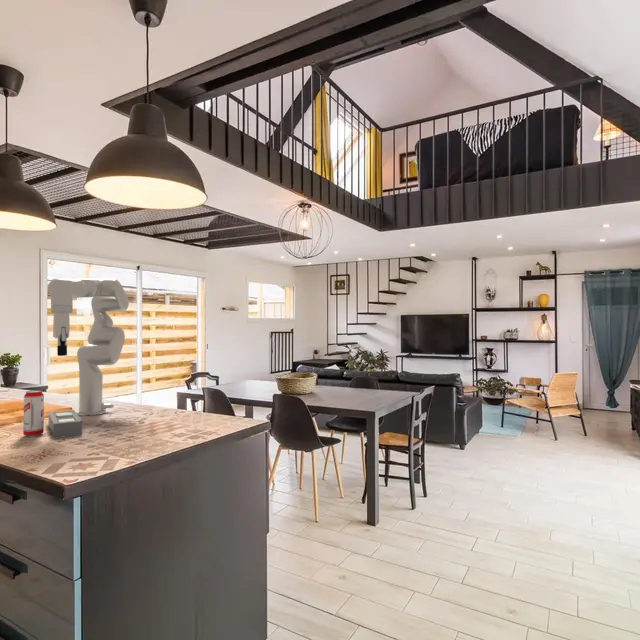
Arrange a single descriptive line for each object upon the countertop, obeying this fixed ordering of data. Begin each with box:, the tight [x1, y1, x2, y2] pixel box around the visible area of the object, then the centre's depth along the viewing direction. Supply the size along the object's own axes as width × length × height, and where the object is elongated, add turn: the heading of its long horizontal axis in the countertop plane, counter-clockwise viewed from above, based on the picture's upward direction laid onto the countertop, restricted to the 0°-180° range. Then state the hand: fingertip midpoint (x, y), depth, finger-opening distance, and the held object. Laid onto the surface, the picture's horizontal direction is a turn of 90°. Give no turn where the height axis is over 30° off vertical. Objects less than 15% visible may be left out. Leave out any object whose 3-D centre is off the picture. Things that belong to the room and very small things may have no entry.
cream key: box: [58, 418, 74, 422], centre depth 167 cm, size 5×5×3 cm
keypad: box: [48, 409, 83, 439], centre depth 174 cm, size 9×27×5 cm, turn 34°
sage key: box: [57, 413, 73, 418], centre depth 174 cm, size 5×5×3 cm
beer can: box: [22, 389, 45, 437], centre depth 164 cm, size 6×6×16 cm
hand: (62, 355), depth 180 cm, fingers closed
